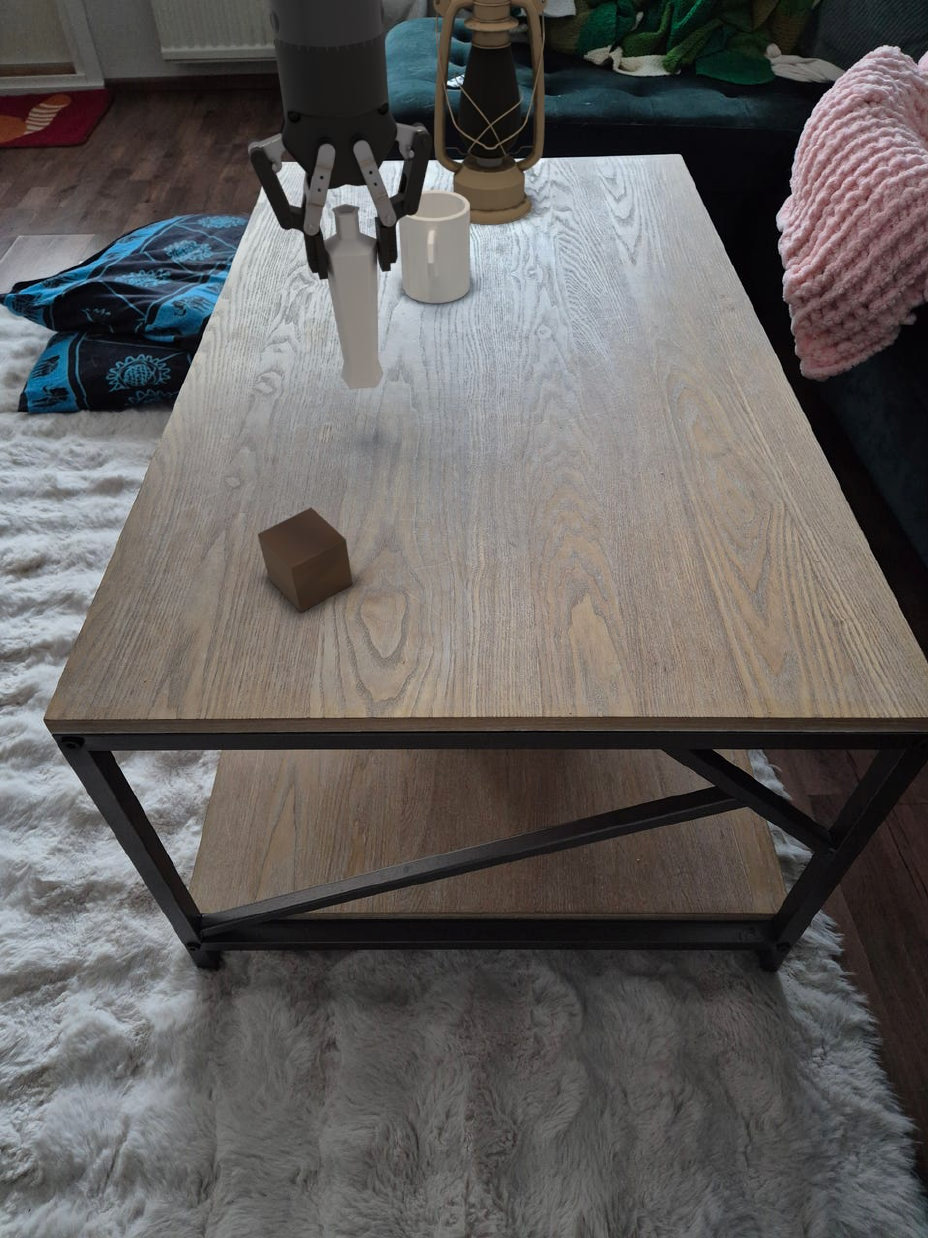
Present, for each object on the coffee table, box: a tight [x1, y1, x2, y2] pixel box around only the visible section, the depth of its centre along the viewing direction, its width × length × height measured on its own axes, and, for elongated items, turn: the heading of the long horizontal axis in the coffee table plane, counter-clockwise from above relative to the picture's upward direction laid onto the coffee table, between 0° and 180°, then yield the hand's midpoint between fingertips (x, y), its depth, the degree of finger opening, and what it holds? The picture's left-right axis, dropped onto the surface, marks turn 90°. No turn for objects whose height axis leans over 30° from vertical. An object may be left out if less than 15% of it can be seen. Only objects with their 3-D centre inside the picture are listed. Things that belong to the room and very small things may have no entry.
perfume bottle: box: [324, 203, 385, 390], centre depth 72 cm, size 5×4×15 cm
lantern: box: [433, 0, 548, 225], centre depth 108 cm, size 15×12×30 cm
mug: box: [398, 189, 471, 304], centre depth 98 cm, size 8×12×10 cm
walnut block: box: [257, 507, 353, 613], centre depth 68 cm, size 5×5×5 cm
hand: (353, 270), depth 70 cm, fingers closed on perfume bottle, 4 cm apart
